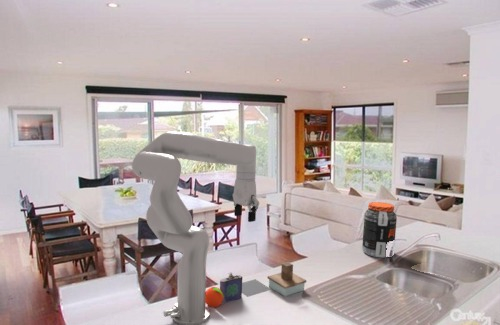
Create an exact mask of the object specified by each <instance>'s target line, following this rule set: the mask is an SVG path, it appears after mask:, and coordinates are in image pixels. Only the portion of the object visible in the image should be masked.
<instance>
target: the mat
mask: <svg viewBox="0 0 500 325" xmlns="http://www.w3.org/2000/svg"><path fill="white" fill-rule="evenodd" d="M271 290H272V288H270V287H269V286H266V285H265V284H264V283H262V282H260V281H259V280H257V279H251V280H248V281H244V282H243V281H242V295H245V296H246V297H247V298H248V297H251V296H254V295H257V294H261V293H264V292H267V291H271Z"/></svg>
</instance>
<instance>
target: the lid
mask: <svg viewBox="0 0 500 325" xmlns="http://www.w3.org/2000/svg"><path fill="white" fill-rule="evenodd" d="M293 270H294V264H293V263H291V262H289V261H286V262H282V263H281V272H278V273H275V274H271V275H268V276H267V279H268V280H271V281H273V282H274V283H276V284H278V285H279V286H281V287H283V288H284V289H286V288H290V287H293V286H296V285H299V284H303V283H305V284H306V283H307V279H305V278H303V277H301V276H299V275H297V274H295V273H293V272H294V271H293Z"/></svg>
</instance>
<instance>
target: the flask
mask: <svg viewBox="0 0 500 325" xmlns="http://www.w3.org/2000/svg"><path fill="white" fill-rule="evenodd" d="M227 274H228V277H224V278H222V279H220V281H219V289H220V290H221V291H222V293H223V296H224V298H223V301H222V303H221V304H225V303H228V302H231V301H236V300H240V299H242V296H243V293H242V283H243V276H242V275H241V274H240V275H239V274H236V275H233V273H232V272H229V273H227Z"/></svg>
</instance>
